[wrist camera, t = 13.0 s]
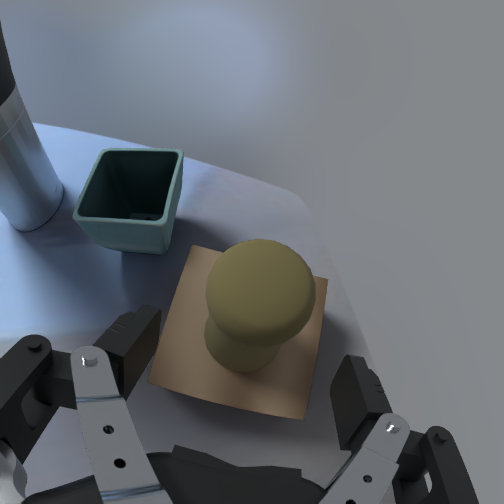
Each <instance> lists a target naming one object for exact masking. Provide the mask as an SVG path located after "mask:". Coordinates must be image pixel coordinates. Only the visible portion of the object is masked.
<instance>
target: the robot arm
mask: <svg viewBox="0 0 504 504" xmlns="http://www.w3.org/2000/svg"><path fill="white" fill-rule="evenodd" d="M62 197H63V186H62V184H61V182H60V180H59V178H58V176H57V174H56V172H55V170H54V168H53V166H52V164H51V162H50V160H49V158H48V156H47V154H46V152H45V150H44V148H43V146H42V144H41V142H40V140H39V137H38V135H37V133H36V131H35V129H34V126H33V124H32V122H31V120H30V117H29V115H28V112H27V110H26V108H25V105H24V103H23V100H22V98H21V95H20V93H19V90H18V87H17V85H16V82H15V79H14V76H13V73H12V70H11V66H10V61H9V57H8V53H7V49H6V45H5V42H4V38H3V33H2V28H1V22H0V211H1V212H2V213H3V214H4V215H5V217H6V218H7V219H8V220H9V221H10V223H11V224H12V225H13V226H14V227H15V228H16V229H17V230H20V231H31V230H34V229H36V228H38V227H40V226H42V225H43V224H44V223H46V222H47V221H48V220H49V219H50V218H51V217H52V216H53V215H54V213H55V212H56V210H57V209H58V207H59V205H60V203H61V200H62ZM160 321H161V310H160V309H157V308H154V307H151V306H148V305H143V306H142V307H141V308H140V309H139V310H138V311H137V313H136V314H135V313H132V312H128V313H126V314H123V315H121V316H120V317H119V318H118V319H117V320H116V321H115V322H114V324H112V325H111V326H110V327H109V329H107V330H106V331H105V333H104V334H103V335H102V336H101V337H100V338H99V339H98V340H97V341H96V342H95V343H94V344H93V346H81V347H78V348H77V349H75V350H74V351H73V352H72V353H65V352H60V351H55V350H52V347H51V343H50V341H49V340H48V339H47V338H45V337H44V336H41V335H28V336H25V337H23V338H22V339H20V340H19V341H18V342H17V343H16V344H15V345H14V346H13V347H12V348H11V349H10V350H9V351H8V352H7V353H6V354H5V355H4V356H3V357H2V358H0V504H379V503H380V501H381V500H382V498H383V496H384V494H385V492H386V491H387V489H388V487H389V485H390V483H391V481H392V486H393V491H394V496H395V502H396V504H479V502H478V499H477V496H476V494H475V491H474V488H473V485H472V483H471V480H470V477H469V475H468V472H467V470H466V467H465V465H464V462H463V460H462V457H461V455H460V453H459V450H458V448H457V446H456V443H455V441H454V439H453V436H452V435H451V434H450V432H449V431H448V430H446V429H445V428H443V427H440V426H432V427H430V428H429V429H428V430H427V432H426V433H425V434H423V433H419V432H415V431H412V430H410V427H409V425H408V423H407V421H406V420H405V419H403V418H402V417H400V416H399V415H396V414H393V412H392V409H391V407H390V404H389V402H388V400H387V397H386V395H385V393H384V390H383V387H381V386H382V385H381V382H380V380H379V378H378V376H377V375H376V374H375V373H374V372H373V371H372V370H371V369H368V367H367V364H366V362H365V359H364V358H363V357H359V356H353V355H346V356H345V357H344V359H343V361H342V363H341V365H340V367H339V369H338V371H337V373H336V375H335V377H334V379H333V381H332V384H331V388H330V396H331V401H332V406H333V411H334V417H335V422H336V427H337V433H338V438H339V444H340V450H349V451H351V453H352V454H351V456H350V457H349V458H348V459H347V461H346V462H345V463H344V464H343V466H342V467H341V468H340V470H339V471H338V472H337V473H336V475H335V476H334V477H333V478H332V480H331V481H330V482H329V483H328V485H327V486H326V487H325V488H324V489H323V488H322V487H321V486H319V485H317V484H316V483H314V482H312V481H309V480H307V479H304V478H302V476H301V469H294V468H285V467H277V466H259V467H237V466H234V465H232V464H229V463H227V462H224V461H222V460H220V459H218V458H215V457H213V456H211V455H209V454H207V453H203V452H199V451H195V450H191V449H188V448H184V447H181V446H177V445H175V446H174V449H173V452H172V453H171V452H155V453H148V454H146V453H145V451H144V449H143V446H142V444H141V442H140V439H139V437H138V434H137V432H136V429H135V427H134V424H133V422H132V419H131V416H130V414H129V411H128V408H127V405H126V400H127V398H128V396H129V395H130V393H131V391H132V390H133V388H134V386H135V385H136V383H137V381H138V380H139V378H140V376H141V375H142V373H143V371H144V370H145V368H146V366H147V365H148V363H149V361H150V360H151V358H152V356H153V355H154V353H155V351H156V348H157V345H158V340H159V331H160ZM59 406H61V407H66V408H71V409H76V410H78V414H79V419H80V424H81V428H82V432H83V437H84V441H85V445H86V449H87V452H88V456H89V460H90V463H91V466H92V470H93V473H94V474H93V475H91V476H88V477H85V478H83V479H80V480H77V481H74V482H71V483H68V484H65V485H62V486H59V487H56V488H53V489H49V490H46V491H42V492H39V493H35V494H33V495H30V496H29V497H27V498H26V496H25V487H26V484H27V473H26V471H25V469H24V467H23V466H22V465H23V463H24V462H25V460H26V458H27V457H28V455H29V453H30V452H31V450H32V448H33V447H34V445H35V443H36V442H37V440H38V439H39V437H40V436H41V434H42V432H43V431H44V429H45V428H46V426H47V425H48V423H49V422H50V420H51V418H52V417H53V415H54V414H55V412H56V411H57V409H58V408H59ZM428 472H429V474H430V478H431V481H432V489H431V491H430V493H429V492H428V488H427V485H426V481H425V478H424V475H425V474H426V473H428Z"/></svg>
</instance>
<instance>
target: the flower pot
mask: <svg viewBox="0 0 504 504" xmlns="http://www.w3.org/2000/svg"><path fill="white" fill-rule="evenodd" d="M183 157H184V153H183V150H180V149H158V148H155V149H154V148H107V149H103V150H102V151H101V152H100V154H99V155H98V158H97V160H96V162H95V164H94V166H93V168H92V171H91V172H90V175H89V177H88V179H87V181H86V183H85V186H84V188H83V190H82V193H81V195H80V197H79V200H78V202H77V204H76V207H75V209H74V212H73V216H72V218H73V220H74V221H75V222H76V223H77V224H78V225H79V226H80V227H81V228H82V229H83V230H84V231H85V232H86V233H87V234H88V235H89V236H90V237H91V238H92V239H93V240H94V241H95V242H96V243H97V244H99V245H101V246H103V247H105V248H108V249H112V250H117V251H125V252H137V253H148V254H158V255H161V254H165V253H166V252H167V251H168V249H169V246H170V240H171V235H172V230H173V224H174V220H175V215H176V211H177V206H178V202H179V198H180V194H181V188H182V174H183ZM147 219H151V221H147Z"/></svg>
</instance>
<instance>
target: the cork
mask: <svg viewBox="0 0 504 504" xmlns="http://www.w3.org/2000/svg"><path fill="white" fill-rule="evenodd" d="M205 296H206V301H207V306H208V311H209V316H208V319H207V321H206V323H205V330H204V338H205V343H206V347H207V349H208V351H209V352H210V354H211V356H212V357H213V359H215V360H216V361H217V362H218V363H219V364H220V365H222V366H223V367H225V368H228V369H230V370H233V371H237V372H251V371H255V370H259V369H261V368H263V367H264V366H266V365H267V364H269V363H270V362H271V361H272V360H273V359H274V357H275V356H276V355H277V354H278V352H279V349H280V347H281V344H283V343H285V342H286V341H288V340H290V339H291V338H293V337H294V336H296V335H297V334H298V333H300V332H301V330H302V329H303V328H304V326H305V325H306V324H307V323H308V321H309V320H310V318H311V315H312V311H313V308H314V305H315V301H316V284H315V281H314V278H313V275H312V272H311V270H310V268H309V267H308V265H307V264H306V263H305V261H304V260H303V258H302V257H301V256H300V255H299V254H297V253H296V252H295V251H293V250H292V249H291V248H290V247H288V246H286V245H283V244H281V243H279V242H276V241H272V240H263V239H255V240H249V241H243V242H240V243H238V244H236V245H234V246H232V247H230V248H228V249H227V250H226V251H225V252H224V253H223V254H222V255H221V256H220V257H219V258H218V259H217V260H216V262H215V263H214V265H213V267H212V269H211V271H210V273H209V275H208V277H207V284H206V292H205Z"/></svg>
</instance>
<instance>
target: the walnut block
mask: <svg viewBox="0 0 504 504" xmlns="http://www.w3.org/2000/svg"><path fill="white" fill-rule="evenodd" d="M222 254H223V252H219V251H215V250H211V249H208V248H204V247H200V246H196V245H192V247H191V249H190V252H189V255H188V258H187V261H186V263H185V266H184V269H183V272H182V275H181V277H180V280H179V283H178V286H177V289H176V292H175V295H174V298H173V301H172V304H171V307H170V310H169V313H168V316H167V319H166V322H165V325H164V328H163V331H162V335H161V338H160V341H159V344H158V348H157V351H156V354H155V357H154V361H153V364H152V367H151V371H150V374H149V378H148V381H147V382H148V383H151V384H154V385H157V386H160V387H163V388H166V389H169V390H172V391H176V392H179V393H182V394H185V395H189V396H192V397H196V398H199V399H203V400H207V401H211V402H214V403H218V404H222V405H226V406H231V407H235V408H239V409H244V410H249V411H253V412H258V413H264V414H269V415H274V416H280V417H286V418H293V419H299V420H304V419H305V414H306V410H307V405H308V400H309V395H310V390H311V385H312V380H313V375H314V369H315V364H316V358H317V352H318V346H319V340H320V334H321V327H322V321H323V314H324V307H325V299H326V292H327V284H328V279H325V278H321V277H317V276H313V278H314V281H315V284H316V301H315V305H314V308H313V311H312V315H311V318H310V320H309V321H308V323H307V324H306V325H305V326H304V328H303V329H302V330H301V332H300V333H298V334H297V335H296V336H294V337H293V338H291V339H290V340H288V341H286V342H285V343H283V344H281V347H280V349H279V352H278V354H277V355H276V356H275V357H274V359H273V360H272V361H271V362H270V363H269V364H267V365H266V366H264V367H263V368H261V369H259V370H255V371H251V372H237V371H233V370H230V369H228V368H225V367H223V366H222V365H220V364H219V363H218V362H217V361H216V360H215V359H213V357H212V356H211V354H210V352H209V351H208V349H207V347H206V343H205V338H204V330H205V323H206V321H207V319H208V316H209V311H208V306H207V301H206V296H205V292H206V284H207V277H208V275H209V273H210V271H211V269H212V267H213V265H214V263H215V262H216V260H217V259H218V258H219V257H220V256H221V255H222Z"/></svg>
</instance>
